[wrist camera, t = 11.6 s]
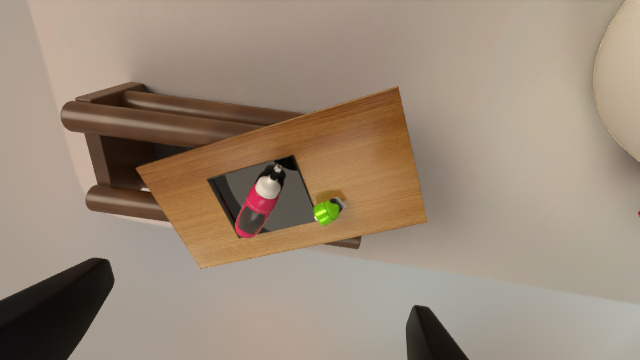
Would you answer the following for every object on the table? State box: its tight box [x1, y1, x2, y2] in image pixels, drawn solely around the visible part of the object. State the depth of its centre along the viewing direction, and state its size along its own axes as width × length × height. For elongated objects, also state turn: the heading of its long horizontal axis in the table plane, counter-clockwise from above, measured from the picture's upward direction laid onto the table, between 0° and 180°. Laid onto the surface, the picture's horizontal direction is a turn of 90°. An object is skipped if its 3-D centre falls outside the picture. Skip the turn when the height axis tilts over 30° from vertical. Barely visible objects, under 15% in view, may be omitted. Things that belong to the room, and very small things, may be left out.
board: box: [136, 86, 427, 269], centre depth 14 cm, size 6×12×2 cm, turn 109°
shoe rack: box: [61, 82, 361, 249], centre depth 17 cm, size 6×14×5 cm, turn 84°
